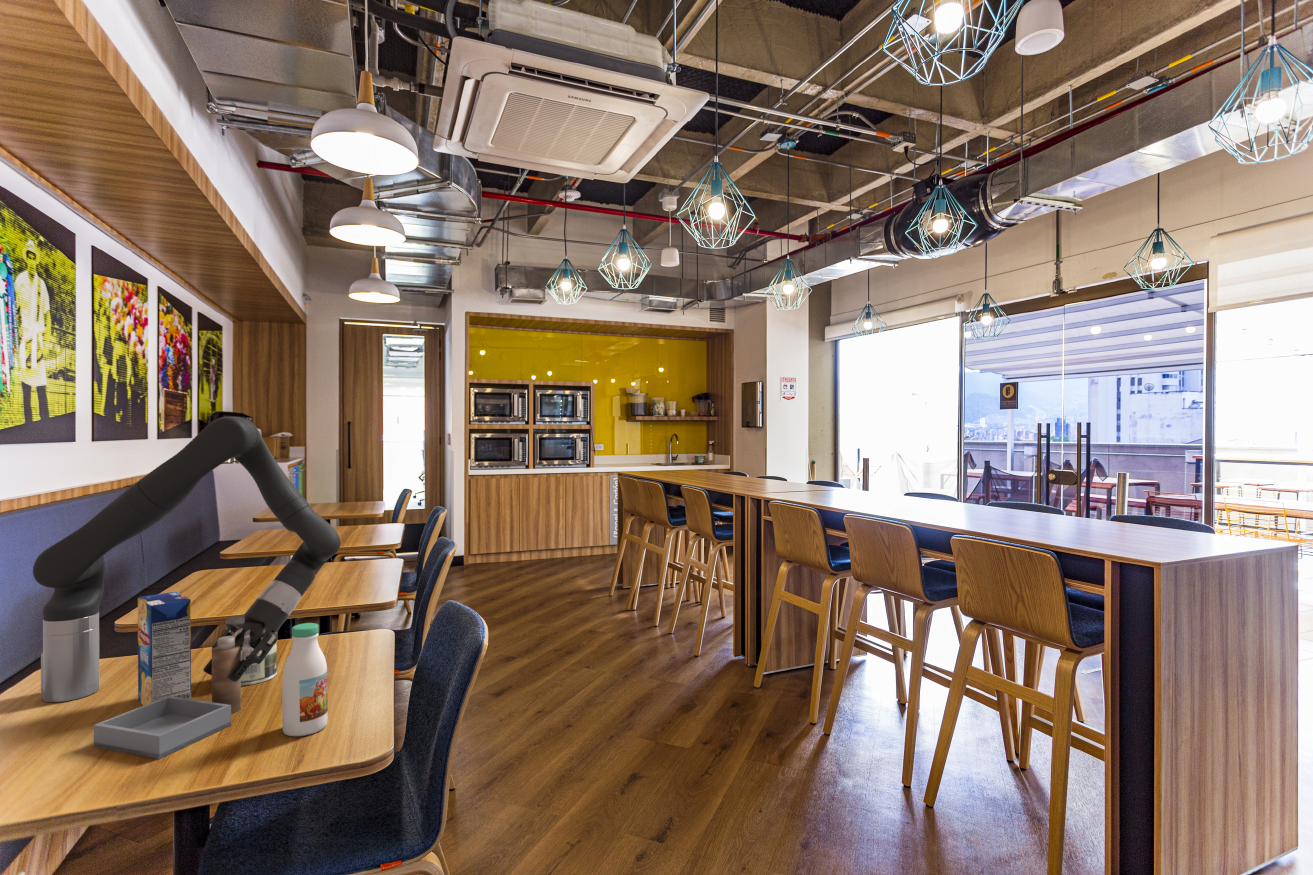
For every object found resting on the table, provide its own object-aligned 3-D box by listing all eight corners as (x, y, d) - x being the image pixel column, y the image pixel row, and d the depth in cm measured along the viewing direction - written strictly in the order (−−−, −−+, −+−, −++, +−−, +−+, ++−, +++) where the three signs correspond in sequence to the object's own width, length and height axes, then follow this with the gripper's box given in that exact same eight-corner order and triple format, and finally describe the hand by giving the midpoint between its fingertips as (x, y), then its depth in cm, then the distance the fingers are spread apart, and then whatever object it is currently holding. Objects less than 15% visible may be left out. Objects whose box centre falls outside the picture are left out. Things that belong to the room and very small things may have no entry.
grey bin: (93, 746, 121) (93, 724, 121) (169, 715, 134) (169, 695, 134) (159, 758, 116) (159, 736, 116) (231, 725, 130) (231, 704, 130)
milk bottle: (281, 740, 123) (281, 633, 123) (283, 724, 130) (283, 623, 130) (328, 732, 127) (327, 628, 126) (327, 717, 133) (327, 617, 133)
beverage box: (151, 713, 135) (150, 605, 135) (138, 699, 142) (137, 597, 142) (191, 703, 140) (190, 599, 140) (176, 690, 147) (176, 591, 147)
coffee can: (263, 666, 162) (262, 609, 162) (285, 675, 156) (285, 615, 156) (216, 680, 153) (216, 619, 153) (239, 689, 148) (239, 626, 148)
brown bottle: (205, 714, 135) (205, 640, 135) (227, 704, 139) (227, 633, 139) (224, 717, 133) (224, 642, 133) (246, 707, 138) (246, 635, 138)
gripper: (241, 593, 146) (184, 662, 136) (283, 600, 140) (227, 673, 129) (264, 611, 151) (211, 679, 141) (306, 619, 144) (253, 691, 134)
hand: (219, 676), depth 135 cm, fingers open, 7 cm apart
